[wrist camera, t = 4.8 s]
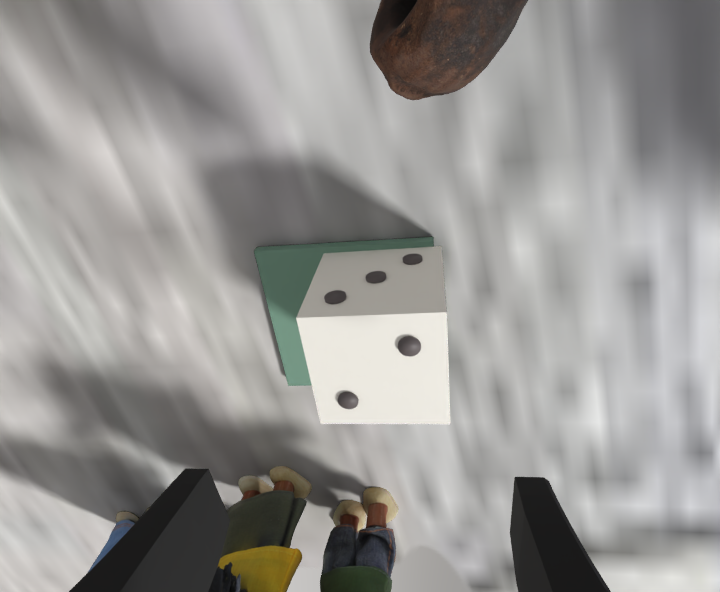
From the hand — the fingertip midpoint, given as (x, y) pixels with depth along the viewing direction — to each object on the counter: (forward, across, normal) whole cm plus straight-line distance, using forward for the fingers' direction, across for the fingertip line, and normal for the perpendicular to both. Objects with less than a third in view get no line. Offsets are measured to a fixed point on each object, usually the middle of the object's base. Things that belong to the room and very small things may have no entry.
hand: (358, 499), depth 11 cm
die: (+9, 0, 0) cm, 9 cm away
